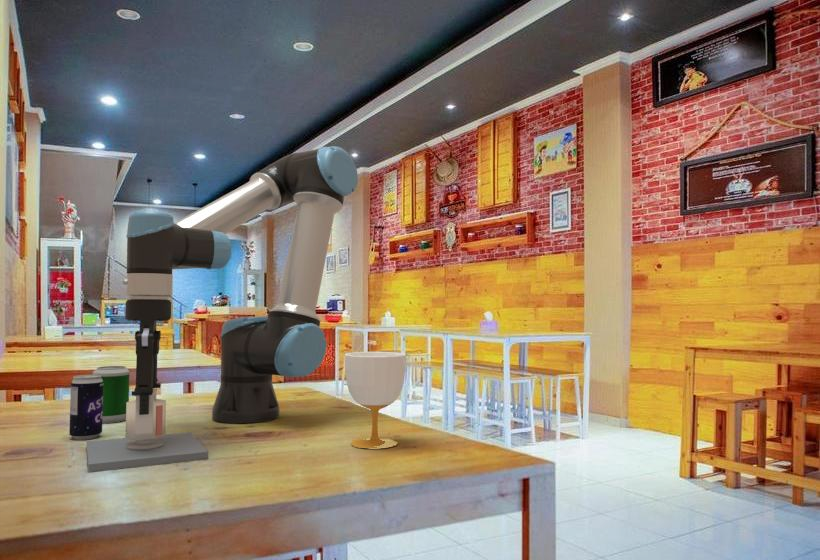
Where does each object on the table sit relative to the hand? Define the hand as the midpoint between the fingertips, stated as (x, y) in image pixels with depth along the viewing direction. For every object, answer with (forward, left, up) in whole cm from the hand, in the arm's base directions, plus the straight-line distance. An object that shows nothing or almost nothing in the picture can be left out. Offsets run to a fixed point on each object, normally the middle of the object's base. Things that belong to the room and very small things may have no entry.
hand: (145, 428), depth 107 cm
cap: (0, 0, -1) cm, 1 cm away
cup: (-39, +12, -4) cm, 41 cm away
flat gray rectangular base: (0, 0, -4) cm, 4 cm away
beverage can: (+9, -19, -4) cm, 21 cm away
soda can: (+4, -36, -4) cm, 37 cm away
